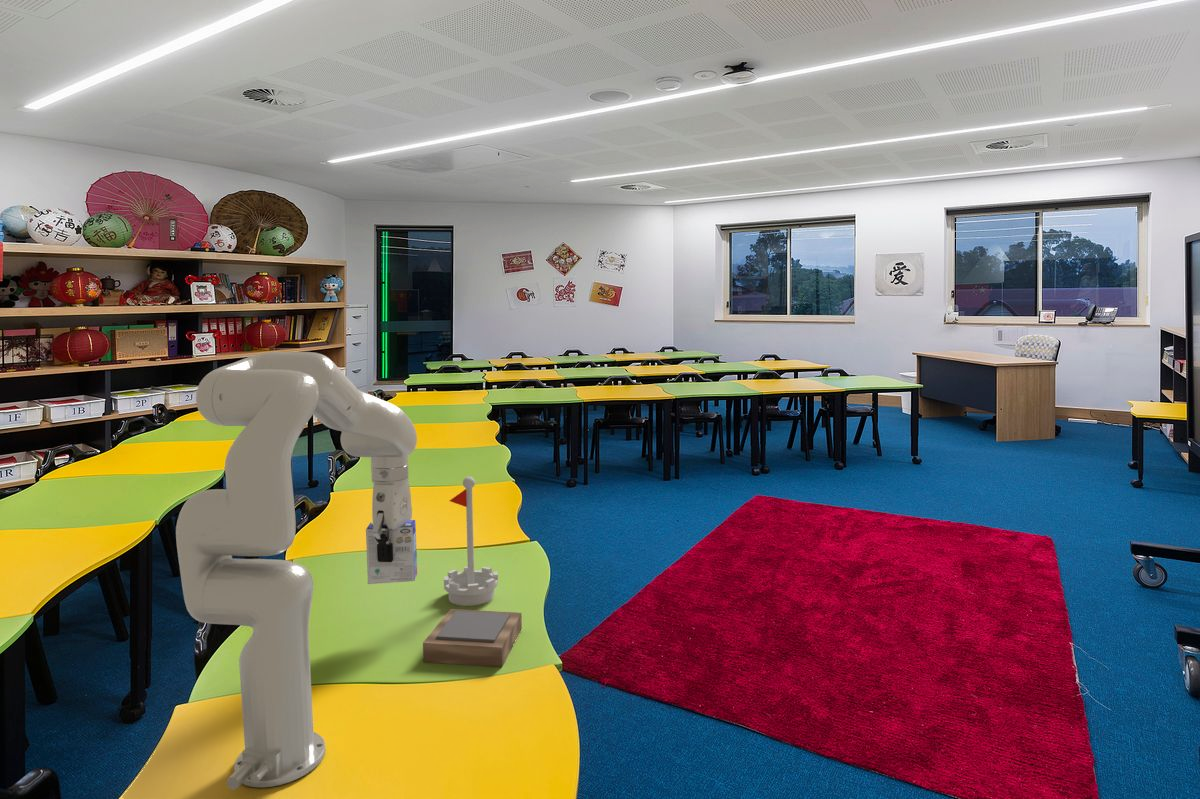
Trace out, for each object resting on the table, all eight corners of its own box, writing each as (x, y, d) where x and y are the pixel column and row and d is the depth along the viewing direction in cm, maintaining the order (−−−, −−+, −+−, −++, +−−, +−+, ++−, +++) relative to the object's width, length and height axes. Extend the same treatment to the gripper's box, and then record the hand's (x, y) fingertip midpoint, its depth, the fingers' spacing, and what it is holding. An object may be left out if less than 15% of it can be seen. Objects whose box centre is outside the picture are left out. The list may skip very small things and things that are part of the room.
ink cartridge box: (418, 572, 149) (416, 508, 148) (415, 582, 144) (413, 515, 142) (371, 575, 148) (368, 510, 146) (367, 585, 142) (364, 518, 141)
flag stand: (482, 582, 176) (480, 468, 172) (508, 598, 165) (506, 477, 162) (435, 594, 168) (431, 475, 164) (459, 612, 157) (455, 485, 154)
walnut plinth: (502, 667, 132) (501, 645, 132) (423, 661, 134) (422, 640, 134) (521, 630, 148) (521, 610, 148) (451, 626, 150) (450, 606, 150)
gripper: (389, 483, 134) (392, 571, 136) (422, 465, 152) (424, 543, 153) (353, 482, 135) (356, 569, 137) (390, 465, 152) (393, 542, 154)
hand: (392, 555), depth 145 cm, fingers closed on ink cartridge box, 6 cm apart
